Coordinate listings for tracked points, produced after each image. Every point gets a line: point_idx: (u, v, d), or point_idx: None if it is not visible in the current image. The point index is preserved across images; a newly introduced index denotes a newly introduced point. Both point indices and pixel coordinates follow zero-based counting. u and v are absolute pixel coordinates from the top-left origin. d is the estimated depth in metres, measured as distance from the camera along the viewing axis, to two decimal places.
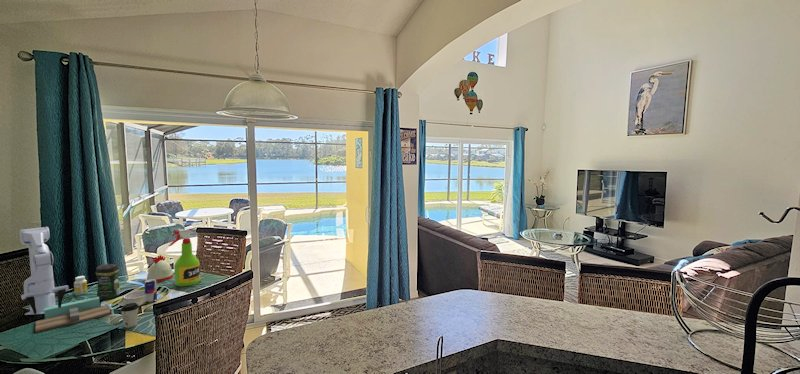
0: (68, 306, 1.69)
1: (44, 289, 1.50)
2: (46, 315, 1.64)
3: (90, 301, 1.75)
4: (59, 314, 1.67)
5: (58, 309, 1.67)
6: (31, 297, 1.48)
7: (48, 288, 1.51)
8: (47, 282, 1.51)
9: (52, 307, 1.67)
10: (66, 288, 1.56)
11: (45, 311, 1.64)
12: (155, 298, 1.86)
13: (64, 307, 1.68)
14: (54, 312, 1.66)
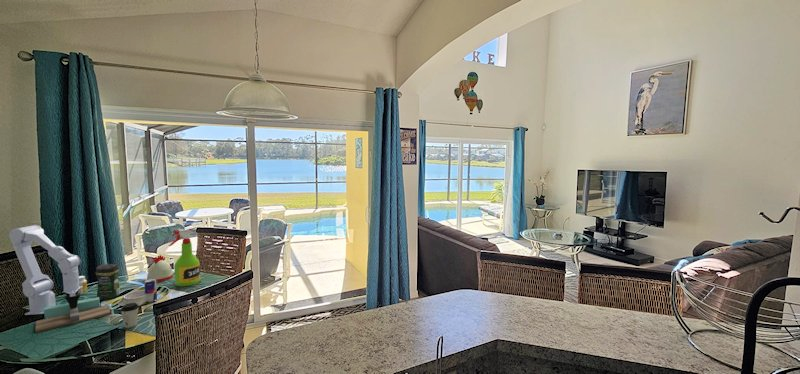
0: (67, 306, 1.69)
1: (79, 286, 1.73)
2: (46, 314, 1.65)
3: (90, 302, 1.75)
4: (59, 314, 1.68)
5: (58, 309, 1.67)
6: None
7: None
8: None
9: (52, 306, 1.67)
10: None
11: (45, 310, 1.64)
12: (155, 298, 1.86)
13: (64, 307, 1.69)
14: (54, 312, 1.67)
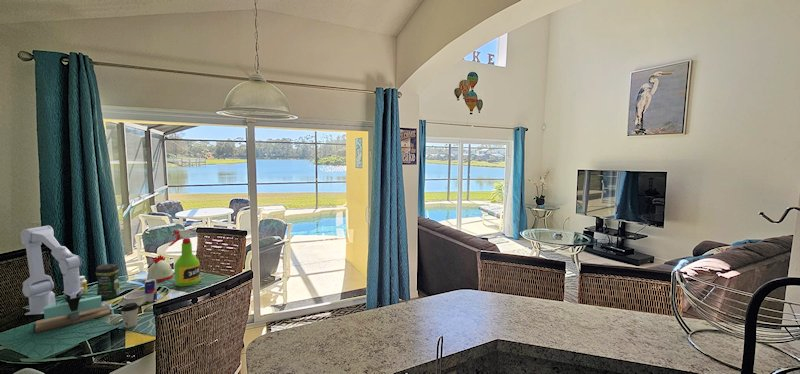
0: (68, 305, 1.63)
1: None
2: (46, 314, 1.58)
3: (91, 300, 1.68)
4: (59, 313, 1.61)
5: (58, 308, 1.60)
6: (75, 295, 1.62)
7: None
8: None
9: (52, 306, 1.60)
10: None
11: (45, 310, 1.57)
12: (155, 298, 1.86)
13: (64, 306, 1.62)
14: (54, 311, 1.59)
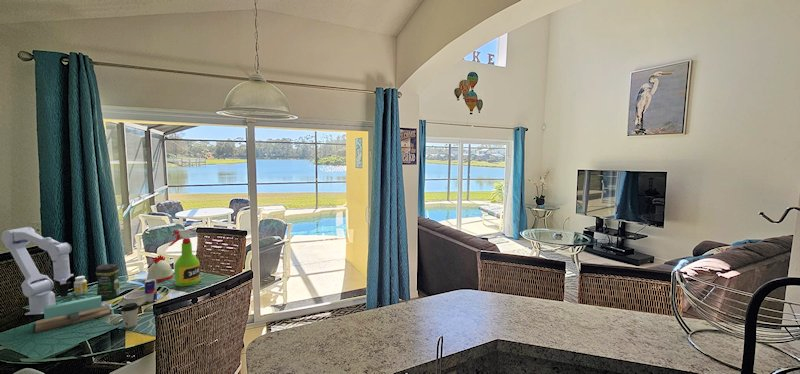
0: (68, 305, 1.63)
1: None
2: (46, 314, 1.58)
3: (91, 300, 1.68)
4: (59, 313, 1.61)
5: (58, 308, 1.60)
6: None
7: None
8: None
9: (52, 306, 1.60)
10: None
11: (45, 310, 1.57)
12: (155, 298, 1.86)
13: (64, 306, 1.62)
14: (54, 311, 1.59)
